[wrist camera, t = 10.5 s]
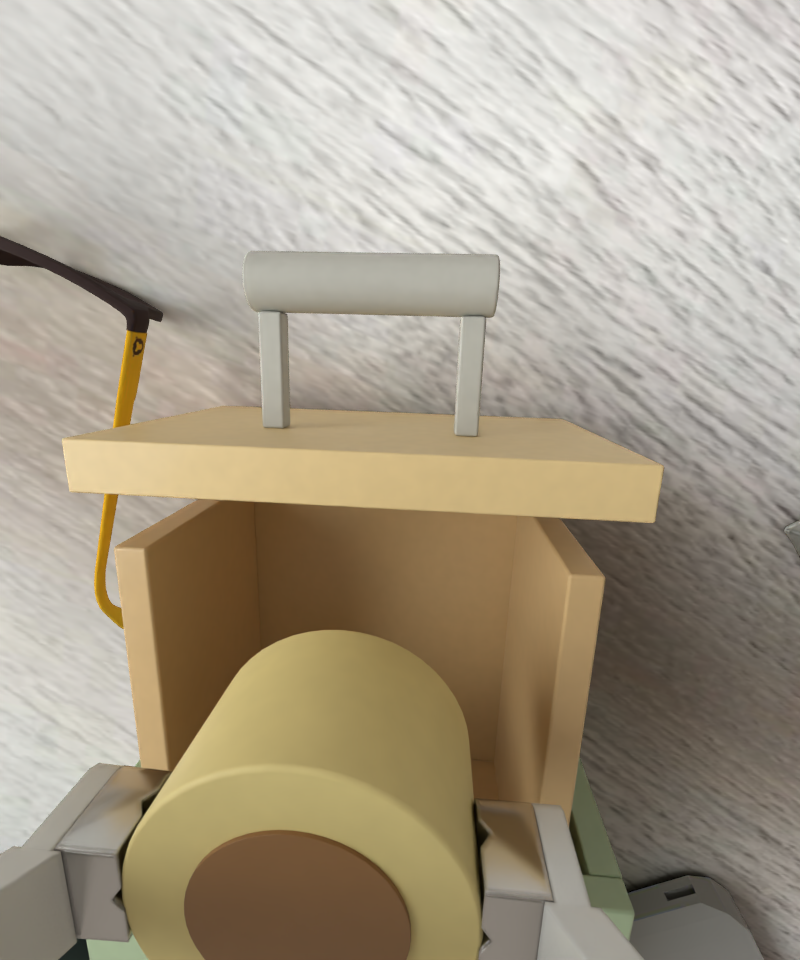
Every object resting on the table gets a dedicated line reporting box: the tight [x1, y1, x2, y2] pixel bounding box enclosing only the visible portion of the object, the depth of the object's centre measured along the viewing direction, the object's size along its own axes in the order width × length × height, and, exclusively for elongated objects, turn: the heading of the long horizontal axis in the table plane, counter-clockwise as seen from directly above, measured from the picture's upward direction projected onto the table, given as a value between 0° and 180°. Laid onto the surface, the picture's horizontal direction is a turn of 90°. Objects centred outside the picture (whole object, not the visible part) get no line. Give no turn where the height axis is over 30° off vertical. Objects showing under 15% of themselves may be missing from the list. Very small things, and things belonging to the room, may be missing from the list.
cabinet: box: [86, 757, 635, 960], centre depth 18 cm, size 16×14×10 cm
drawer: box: [62, 251, 664, 827], centre depth 15 cm, size 19×12×8 cm, turn 178°
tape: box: [122, 630, 483, 960], centre depth 9 cm, size 6×6×4 cm
